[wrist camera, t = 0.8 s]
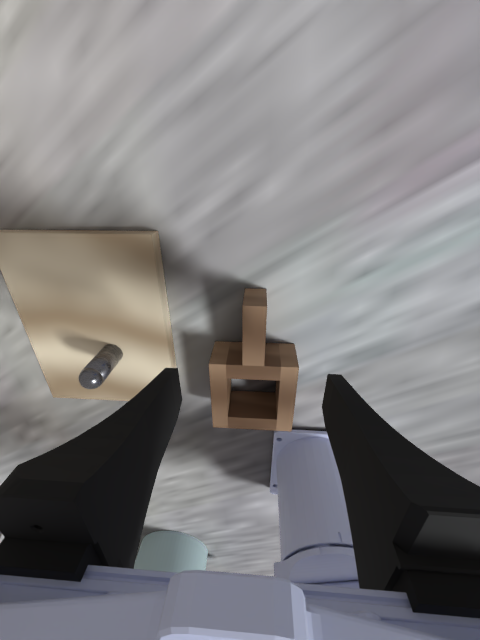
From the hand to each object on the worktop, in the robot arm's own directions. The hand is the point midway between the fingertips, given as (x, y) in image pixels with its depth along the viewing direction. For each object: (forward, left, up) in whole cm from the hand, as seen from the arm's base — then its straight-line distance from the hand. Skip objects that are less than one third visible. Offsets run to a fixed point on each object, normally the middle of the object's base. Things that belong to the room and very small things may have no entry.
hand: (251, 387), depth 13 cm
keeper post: (-3, +11, -7) cm, 13 cm away
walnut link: (-3, 0, -8) cm, 9 cm away
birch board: (-1, +12, -8) cm, 15 cm away
